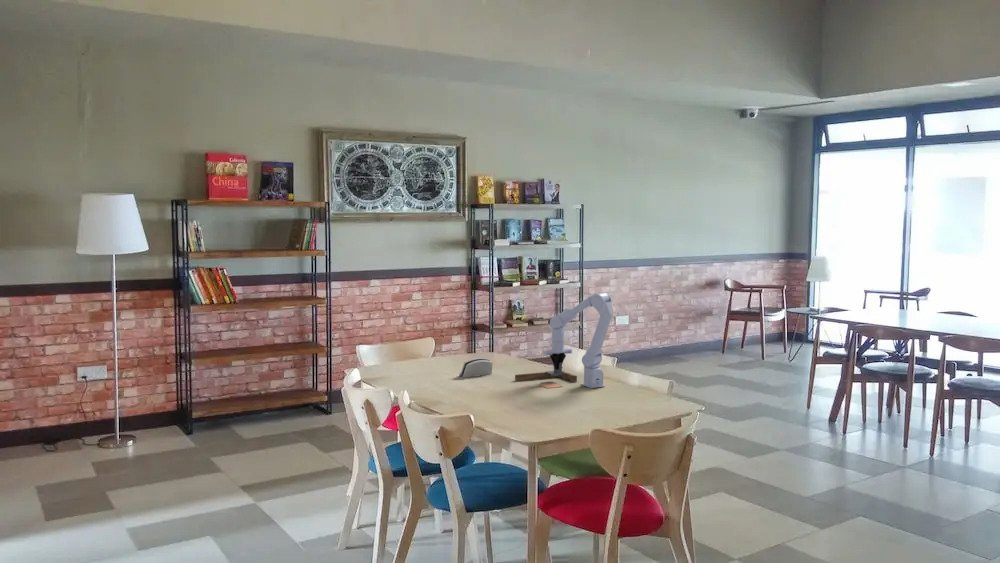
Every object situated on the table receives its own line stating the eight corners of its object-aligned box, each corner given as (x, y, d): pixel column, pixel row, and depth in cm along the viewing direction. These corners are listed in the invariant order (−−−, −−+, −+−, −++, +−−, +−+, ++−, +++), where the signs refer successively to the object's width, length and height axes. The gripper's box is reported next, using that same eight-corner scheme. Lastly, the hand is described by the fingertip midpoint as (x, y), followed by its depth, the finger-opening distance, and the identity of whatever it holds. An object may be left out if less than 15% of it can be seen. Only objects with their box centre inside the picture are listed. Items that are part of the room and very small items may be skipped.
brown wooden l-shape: (576, 382, 395) (576, 375, 395) (528, 386, 384) (528, 380, 384) (561, 376, 408) (561, 370, 408) (515, 380, 398) (515, 374, 397)
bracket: (562, 375, 393) (561, 362, 393) (550, 376, 391) (550, 363, 390) (556, 372, 399) (555, 360, 398) (545, 374, 396) (544, 361, 396)
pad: (562, 386, 384) (562, 386, 384) (547, 388, 380) (547, 387, 380) (554, 383, 391) (554, 383, 391) (539, 385, 388) (539, 384, 388)
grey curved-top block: (486, 372, 419) (490, 355, 415) (491, 377, 415) (495, 359, 412) (458, 376, 410) (461, 358, 406) (463, 380, 406) (466, 362, 402)
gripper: (566, 339, 401) (566, 366, 402) (540, 341, 395) (540, 369, 396) (574, 341, 395) (574, 369, 396) (547, 343, 389) (547, 371, 390)
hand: (557, 369), depth 396 cm, fingers closed on bracket
